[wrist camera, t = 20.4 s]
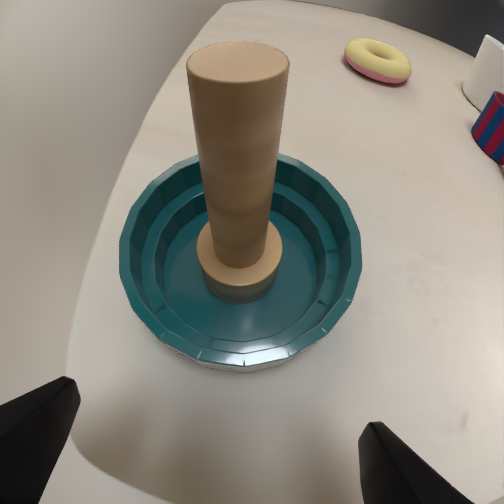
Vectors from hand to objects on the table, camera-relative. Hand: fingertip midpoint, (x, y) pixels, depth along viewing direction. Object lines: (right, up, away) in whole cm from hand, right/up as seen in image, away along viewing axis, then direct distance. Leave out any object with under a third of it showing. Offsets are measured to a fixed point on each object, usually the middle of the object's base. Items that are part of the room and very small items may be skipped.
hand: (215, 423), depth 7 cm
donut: (+18, +29, +25) cm, 42 cm away
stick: (0, +4, +10) cm, 11 cm away
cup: (+31, +17, +19) cm, 40 cm away
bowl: (0, +4, +11) cm, 12 cm away
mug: (+39, +30, +26) cm, 55 cm away
